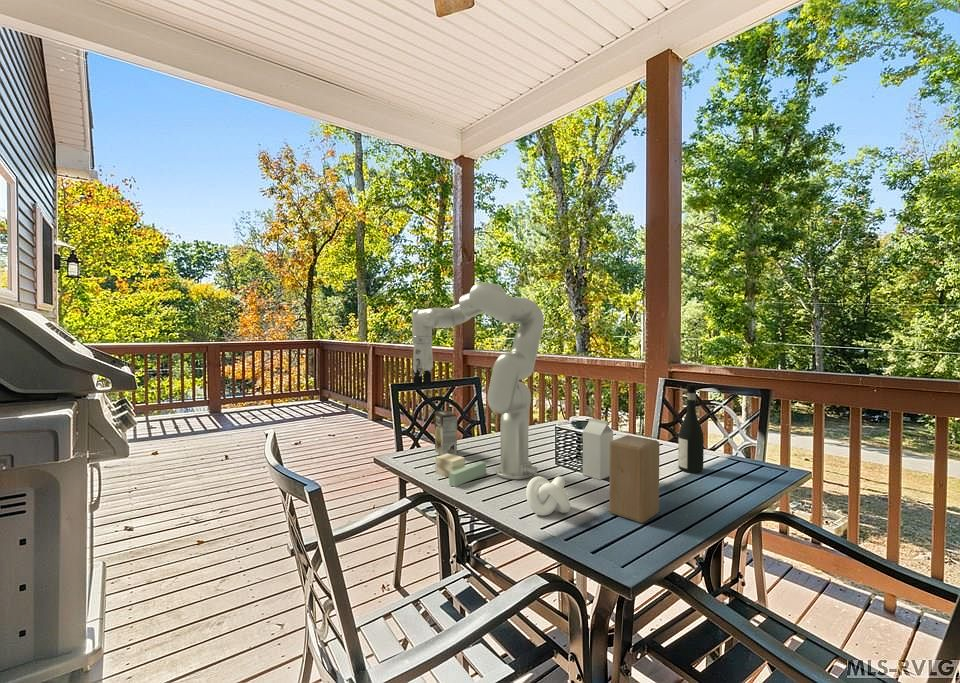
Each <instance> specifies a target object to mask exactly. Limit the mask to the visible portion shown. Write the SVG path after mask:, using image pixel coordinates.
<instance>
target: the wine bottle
mask: <svg viewBox="0 0 960 683" xmlns="http://www.w3.org/2000/svg"><path fill="white" fill-rule="evenodd" d="M686 391H687V394H686V395H687V396H686V399H687V401H686V402H687V403H686V404H687V405H686V406H687V407H686V414H685V417H684V419H683V421H682V424H681V425H680V429H679V431H678V441H677V442H678V444H677V445H678V448H677V449H678V450H677V451H678V455H677V456H678V458H677V464H678V465H677V466H678V469H679V470H680V471H683V472H685V473H689V474H690V473H691V474H700V473H702V472H703V470H704V451H705V450H704V448H705V446H704V445H705V444H704V443H705V442H704V441H705V439H704V433H703V432H704V431H703V429H702V427H701V423H700V422H699V419H698V415H697V410H696V404H697V403H696V402H697V401H696V399H697V398H696V397H697V396H696V395H697V384H694V383H688V384H686Z"/></svg>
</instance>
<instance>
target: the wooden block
mask: <svg viewBox="0 0 960 683" xmlns="http://www.w3.org/2000/svg"><path fill="white" fill-rule="evenodd" d="M608 494H609V506H608V507H609V508H608V510H609V513H610V514H613V515H616V516H618V517H622V518H624V519H627V520H628V519H629V520H630V521H631V520H632V521H634V522H636V523H641V524H643V523H645V522H647V521H648V520H650V519H651V518H653V517H654V516H656V515H657V514H659V511H660V442H659V441H658V440H656V439H651V438H645V437H639V436H635V435H630V434H627V435H624V436H621V437H618V438H614V439H613V440H612V441H611V442H610V476H609V493H608Z"/></svg>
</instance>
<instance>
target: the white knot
mask: <svg viewBox="0 0 960 683" xmlns="http://www.w3.org/2000/svg"><path fill="white" fill-rule="evenodd" d="M565 485H566V481H565V478H564V477H563V476H556V477H555V478H554V479H553V480H551V482H550V481H549V480H548V479H547V478H545V477H542V476H540V475H539V476H534V477H533V478H531V479H530V480H529V481H528V483H527V486H526V489H525V493H526V501H527V504H528V506H529V508H530V509H531V511H532V512H533V513H535V514H536V515H538V516H542V517H544V516H548V515H550V514H552V513H553V512H554V511H555V510H556V511H557V512H559V513H561V514H567V513H568V512H570V510H571V502H570V499H569V497H568V495H567V494H566V492H564V488H565Z"/></svg>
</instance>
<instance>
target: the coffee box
mask: <svg viewBox="0 0 960 683" xmlns="http://www.w3.org/2000/svg"><path fill="white" fill-rule="evenodd" d="M434 451H435V452H436V451H437V452H438V454H439V456H441V455H444V454H447V453H448V454H452V455H456V456H458V414H456V413H454V412H452V411H450V410H437V411H434ZM437 452H436V453H437Z"/></svg>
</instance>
